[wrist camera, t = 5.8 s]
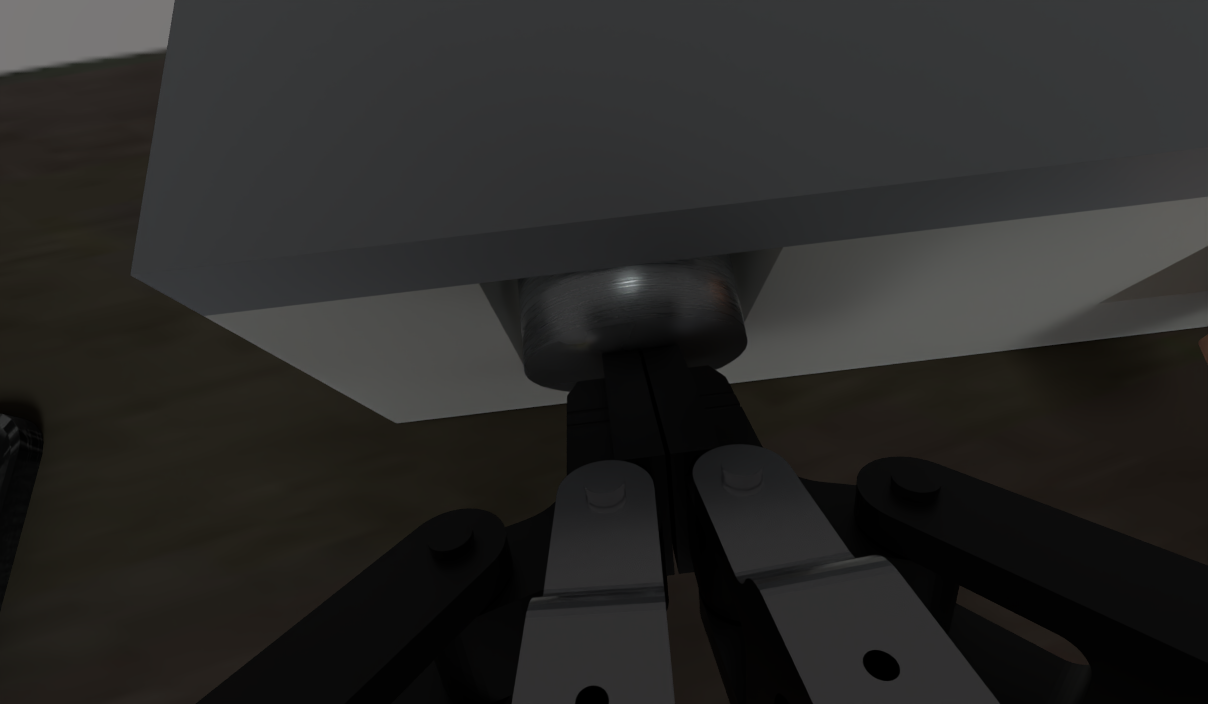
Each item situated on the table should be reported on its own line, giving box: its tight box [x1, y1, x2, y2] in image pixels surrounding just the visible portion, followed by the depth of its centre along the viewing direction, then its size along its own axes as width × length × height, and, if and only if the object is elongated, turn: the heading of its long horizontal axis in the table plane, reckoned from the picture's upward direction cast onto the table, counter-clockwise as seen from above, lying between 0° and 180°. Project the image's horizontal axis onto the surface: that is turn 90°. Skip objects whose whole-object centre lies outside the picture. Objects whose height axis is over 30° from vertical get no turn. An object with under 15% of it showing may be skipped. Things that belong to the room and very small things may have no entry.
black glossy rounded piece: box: [517, 254, 748, 392], centre depth 12 cm, size 4×4×4 cm
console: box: [131, 0, 1208, 423], centre depth 15 cm, size 10×28×10 cm, turn 97°
